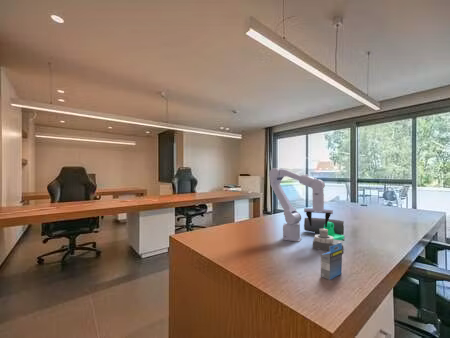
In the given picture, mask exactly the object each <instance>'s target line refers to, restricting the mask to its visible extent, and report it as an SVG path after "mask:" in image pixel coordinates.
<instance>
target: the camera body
mask: <svg viewBox="0 0 450 338" xmlns="http://www.w3.org/2000/svg"><path fill="white" fill-rule="evenodd" d="M339 243H342V254H343V253H344V240H343V239H342V240H334V239H333V237H332V236H329V235H328V238H320V234H315V235H314V238H313V240H312V249H315V250H322V251H327V252H329V251H330V248H329V246H333V245H336V244H339ZM336 249H338V247H336V248H334V250H336Z"/></svg>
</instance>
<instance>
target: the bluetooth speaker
mask: <svg viewBox="0 0 450 338" xmlns="http://www.w3.org/2000/svg"><path fill="white" fill-rule="evenodd" d="M328 222H332V223H334V232H335V233H336V234H340V235H344V234H345V227H344V226H345V225H344V220H339V219H330V218H329V219H328ZM324 225H325V218H319V217H312V226H310V222H309V219H308V217H304V224H303V228H304V231H306V232H312V233H314V234H315V235H318V234H320V231H319V229H320V228H324ZM344 236H345V235H344Z"/></svg>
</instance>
